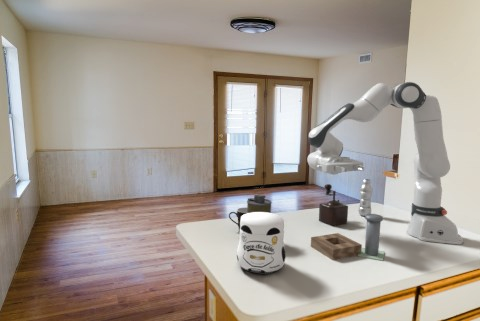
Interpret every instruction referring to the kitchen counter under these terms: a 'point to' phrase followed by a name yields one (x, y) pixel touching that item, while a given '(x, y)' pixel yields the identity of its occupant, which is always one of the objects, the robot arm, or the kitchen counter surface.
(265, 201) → the canister
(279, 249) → the dulce de leche jar
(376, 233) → the grey capped peg
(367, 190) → the plastic bottle
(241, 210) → the coffee mug
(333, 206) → the brown coffee grinder
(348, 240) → the socket block
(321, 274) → the kitchen counter surface
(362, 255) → the mat
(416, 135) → the robot arm
